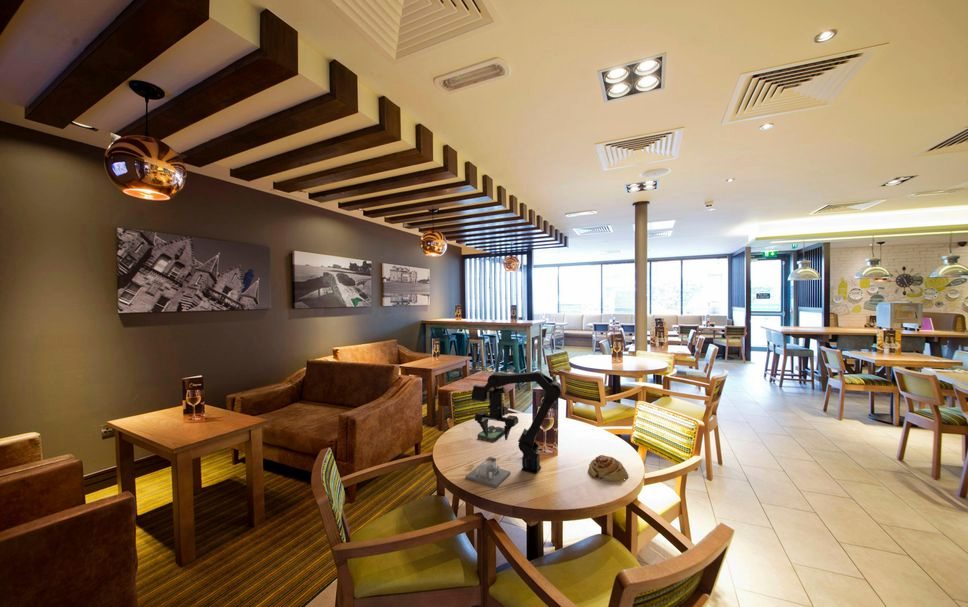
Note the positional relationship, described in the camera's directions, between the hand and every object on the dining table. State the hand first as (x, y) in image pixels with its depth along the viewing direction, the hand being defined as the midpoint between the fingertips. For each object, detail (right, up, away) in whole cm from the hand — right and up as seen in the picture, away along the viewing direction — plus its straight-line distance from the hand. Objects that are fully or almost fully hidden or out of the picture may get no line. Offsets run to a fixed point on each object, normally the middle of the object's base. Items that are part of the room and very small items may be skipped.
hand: (496, 438), depth 148 cm
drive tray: (-4, -12, -10) cm, 16 cm away
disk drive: (-1, -12, +33) cm, 35 cm away
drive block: (-4, -11, -10) cm, 15 cm away
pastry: (+45, -11, -9) cm, 47 cm away
